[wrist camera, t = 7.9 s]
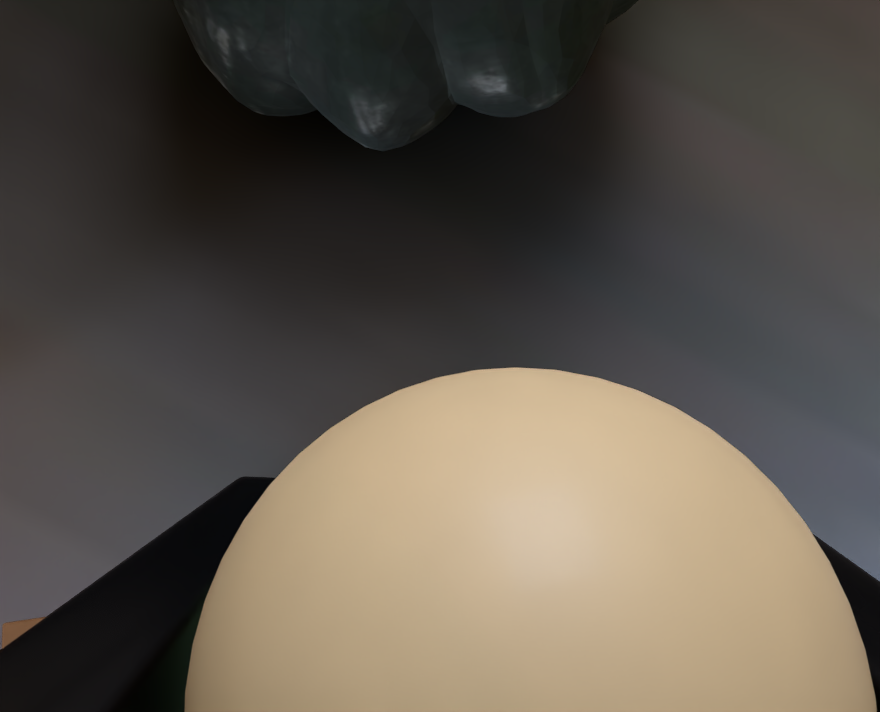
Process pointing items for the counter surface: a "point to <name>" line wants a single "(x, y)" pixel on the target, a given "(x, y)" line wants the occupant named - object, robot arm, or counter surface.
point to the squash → (396, 57)
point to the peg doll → (525, 566)
